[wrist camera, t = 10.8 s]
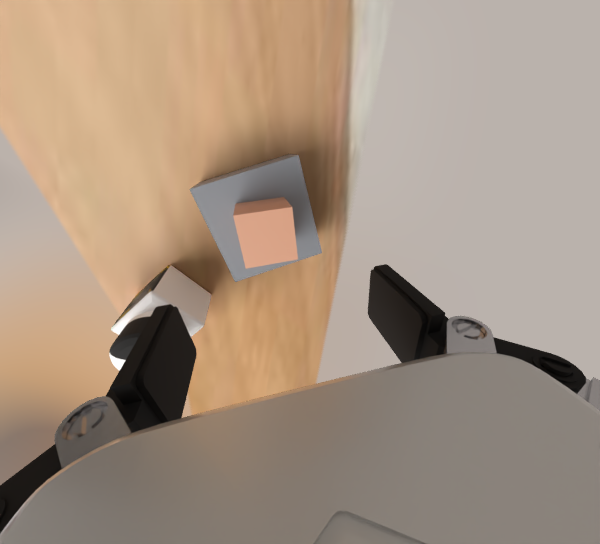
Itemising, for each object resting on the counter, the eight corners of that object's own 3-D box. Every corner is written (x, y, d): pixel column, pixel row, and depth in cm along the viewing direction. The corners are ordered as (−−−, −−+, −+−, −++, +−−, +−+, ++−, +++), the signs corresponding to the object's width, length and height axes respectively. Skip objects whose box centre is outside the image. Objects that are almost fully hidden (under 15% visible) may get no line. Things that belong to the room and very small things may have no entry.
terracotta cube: (235, 203, 23) (233, 215, 19) (283, 197, 24) (292, 206, 20) (245, 248, 26) (245, 268, 21) (289, 241, 26) (298, 259, 22)
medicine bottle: (170, 262, 31) (130, 321, 20) (212, 294, 34) (197, 357, 24) (135, 295, 32) (80, 366, 21) (180, 322, 35) (151, 395, 25)
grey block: (200, 181, 27) (189, 189, 22) (288, 154, 28) (298, 154, 22) (237, 261, 33) (235, 282, 27) (310, 236, 33) (322, 252, 28)
